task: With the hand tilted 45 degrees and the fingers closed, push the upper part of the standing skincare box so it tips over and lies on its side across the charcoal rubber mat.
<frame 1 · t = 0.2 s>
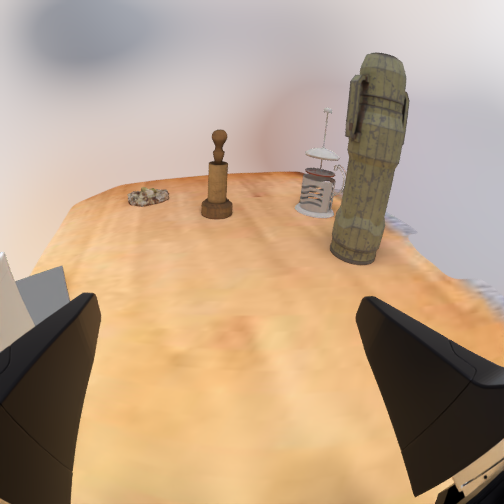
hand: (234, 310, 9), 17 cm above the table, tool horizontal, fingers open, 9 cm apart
skincare box: (42, 413, 16), on the table
mineral rock: (148, 202, 65), on the table
thermos: (352, 253, 48), on the table
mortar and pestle: (216, 214, 59), on the table
french press: (317, 212, 66), on the table
mat: (27, 316, 26), on the table
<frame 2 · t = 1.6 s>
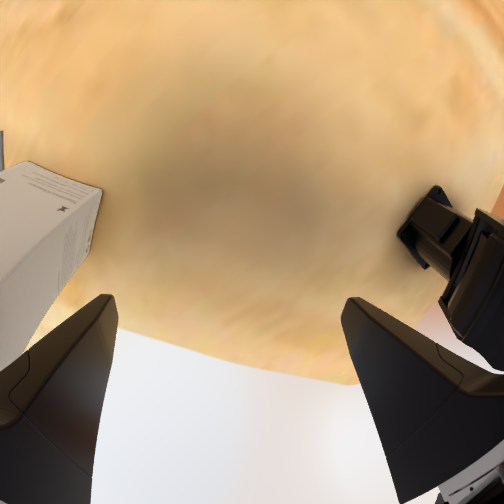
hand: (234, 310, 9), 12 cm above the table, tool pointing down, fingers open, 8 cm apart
skincare box: (54, 206, 18), on the table
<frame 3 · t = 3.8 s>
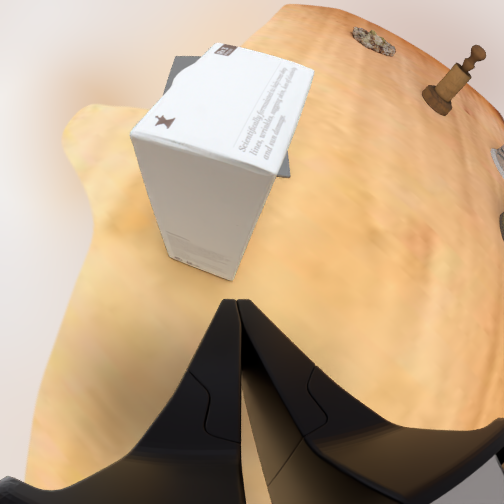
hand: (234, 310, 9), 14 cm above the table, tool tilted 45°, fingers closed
skincare box: (216, 226, 24), on the table
mineral rock: (371, 46, 43), on the table
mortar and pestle: (433, 103, 40), on the table
french press: (503, 170, 40), on the table
mat: (221, 102, 28), on the table
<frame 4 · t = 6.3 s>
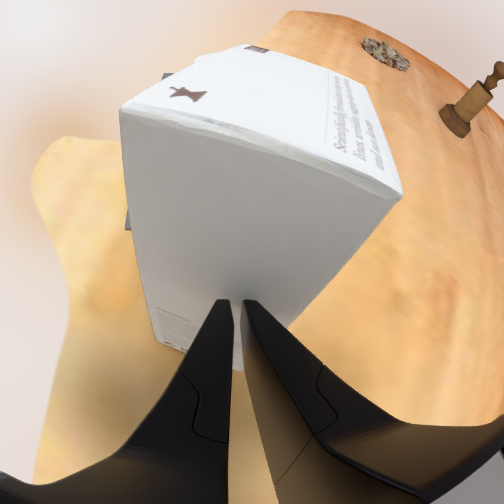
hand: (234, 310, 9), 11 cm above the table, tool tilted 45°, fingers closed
skincare box: (215, 302, 18), point 1 cm above the table, touching gripper
mineral rock: (383, 59, 40), on the table
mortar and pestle: (451, 124, 36), on the table
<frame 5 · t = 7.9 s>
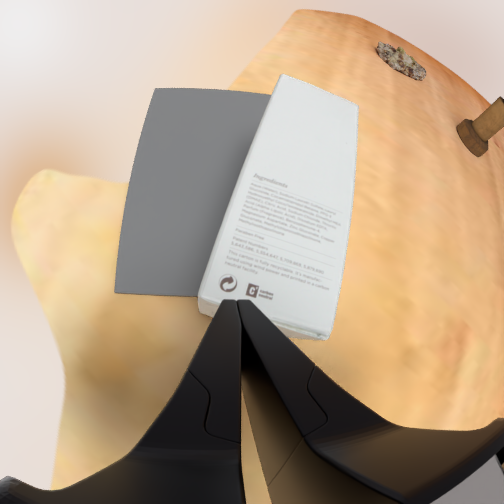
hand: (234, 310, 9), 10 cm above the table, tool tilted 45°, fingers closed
skincare box: (244, 328, 14), point 4 cm above the table, touching mat
mineral rock: (398, 66, 36), on the table
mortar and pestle: (468, 141, 33), on the table
mat: (218, 170, 21), on the table
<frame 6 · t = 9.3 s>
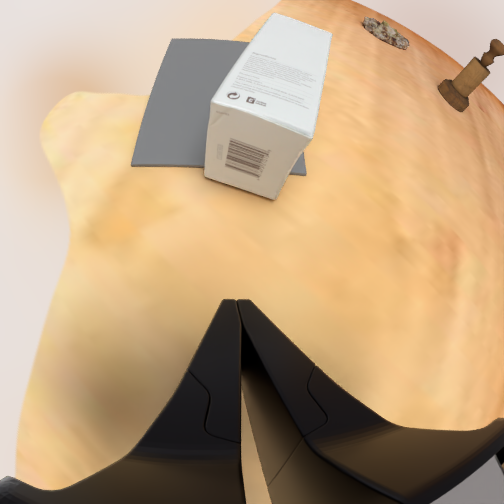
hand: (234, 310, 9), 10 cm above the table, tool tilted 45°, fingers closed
skincare box: (243, 164, 17), point 4 cm above the table, touching mat
mineral rock: (383, 38, 38), on the table
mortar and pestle: (450, 99, 35), on the table
mat: (224, 87, 24), on the table
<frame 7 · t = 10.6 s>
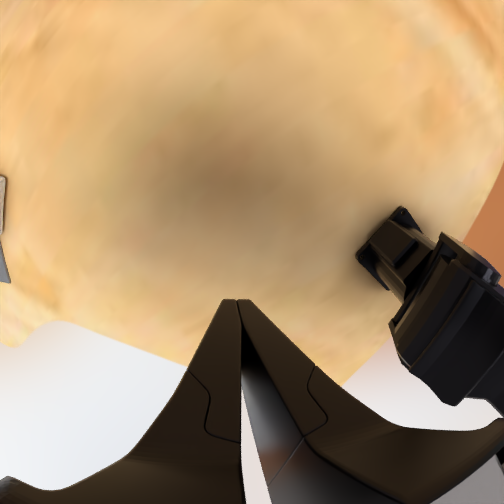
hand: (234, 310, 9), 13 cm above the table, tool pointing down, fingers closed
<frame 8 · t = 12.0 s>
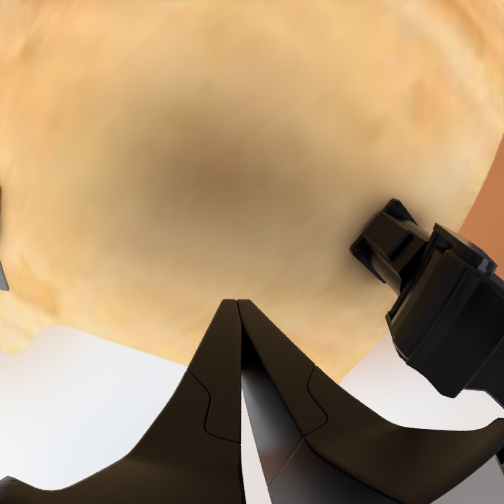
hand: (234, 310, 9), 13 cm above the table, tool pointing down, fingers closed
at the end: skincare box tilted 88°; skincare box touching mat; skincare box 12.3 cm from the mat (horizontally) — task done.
